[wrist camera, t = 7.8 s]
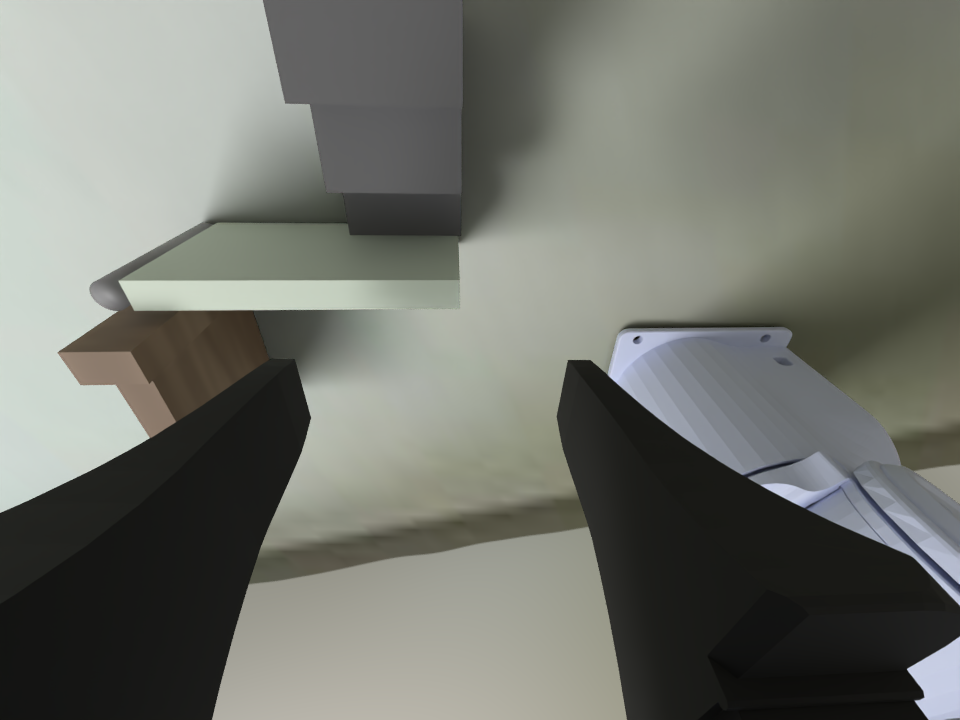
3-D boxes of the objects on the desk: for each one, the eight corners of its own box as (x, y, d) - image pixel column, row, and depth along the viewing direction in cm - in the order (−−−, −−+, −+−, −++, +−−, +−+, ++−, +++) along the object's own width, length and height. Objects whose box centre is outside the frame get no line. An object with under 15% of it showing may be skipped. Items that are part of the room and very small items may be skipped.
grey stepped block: (328, 8, 13) (254, -37, 8) (459, 13, 14) (462, -29, 9) (359, 220, 17) (322, 274, 12) (460, 221, 18) (463, 274, 13)
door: (201, 245, 17) (100, 311, 12) (192, 222, 17) (82, 280, 12) (458, 246, 18) (460, 309, 13) (457, 224, 17) (459, 280, 12)
